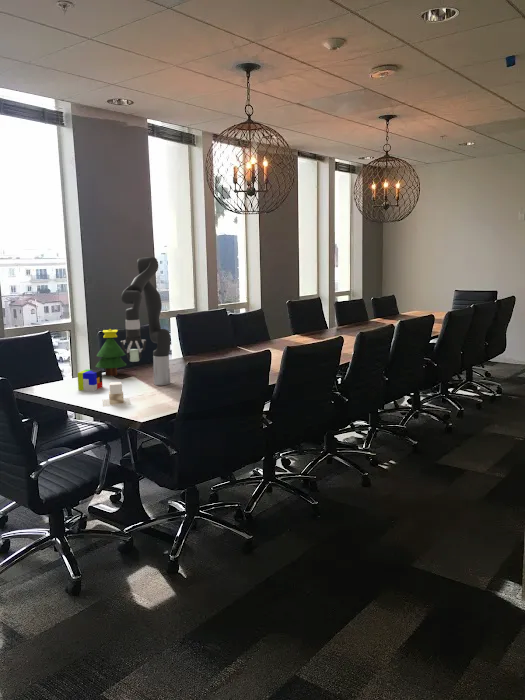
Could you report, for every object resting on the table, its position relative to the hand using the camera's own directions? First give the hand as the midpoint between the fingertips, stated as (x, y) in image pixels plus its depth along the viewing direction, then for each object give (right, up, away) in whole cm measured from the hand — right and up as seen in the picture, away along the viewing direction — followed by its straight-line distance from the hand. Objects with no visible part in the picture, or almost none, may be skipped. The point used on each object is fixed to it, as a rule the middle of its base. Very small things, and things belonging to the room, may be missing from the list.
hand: (134, 359), depth 320 cm
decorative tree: (-28, -11, +60) cm, 67 cm away
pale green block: (0, -1, 0) cm, 1 cm away
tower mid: (-7, -17, -10) cm, 22 cm away
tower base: (-7, -22, -9) cm, 25 cm away
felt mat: (-7, -23, -9) cm, 26 cm away
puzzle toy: (-30, -18, +23) cm, 42 cm away
